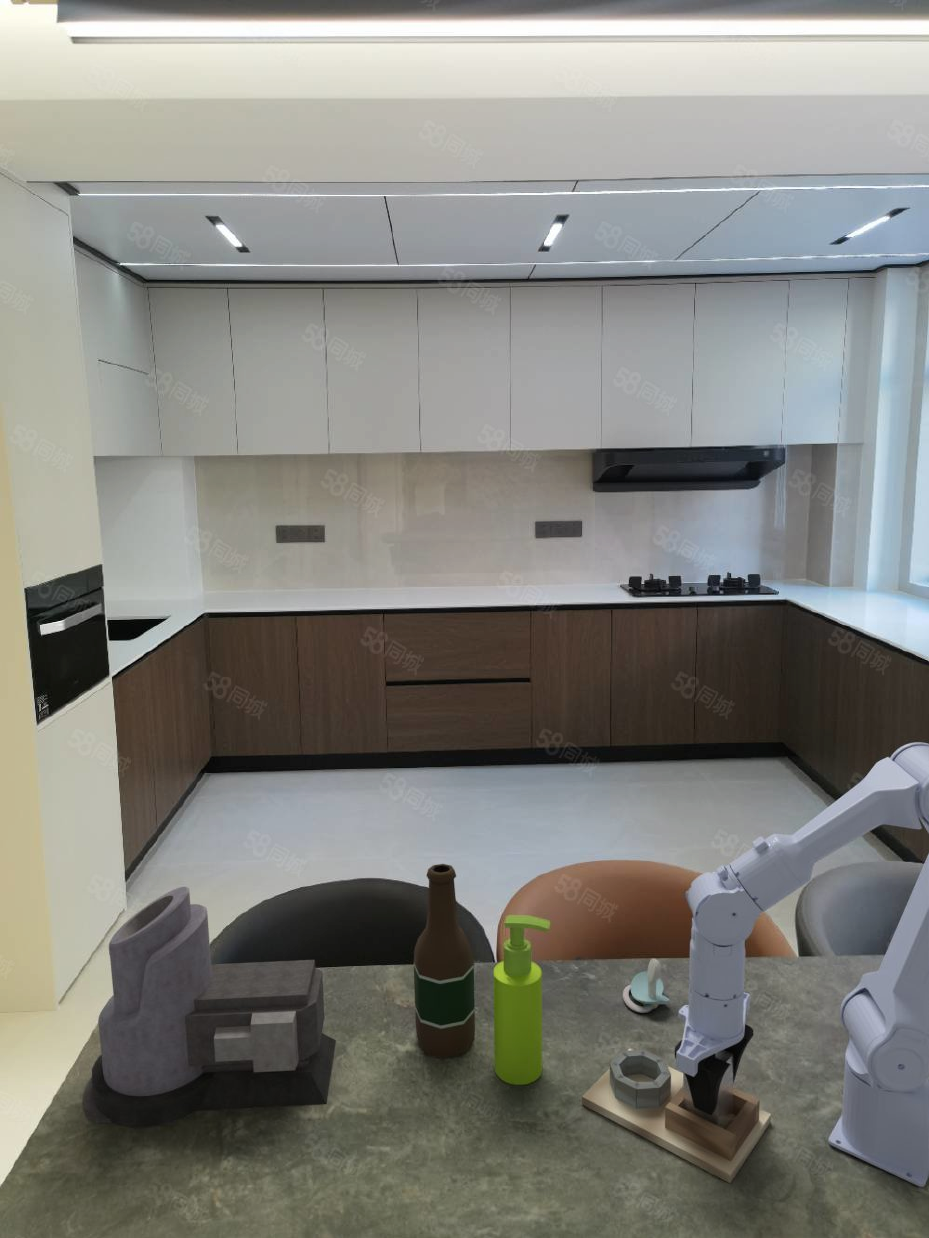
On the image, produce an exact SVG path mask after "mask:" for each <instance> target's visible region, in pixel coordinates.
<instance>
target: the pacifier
mask: <svg viewBox="0 0 929 1238" xmlns="http://www.w3.org/2000/svg"><path fill="white" fill-rule="evenodd" d="M661 974H662V966H661V963H660V961H659V960H657V959H656V958H650V961H649V963H648V966H647V970H644V971H640V972H639V973H637V974H635V976H634V977H633V978H632V979H631V983H630V984H629V985H627V986H625V988H624V989H623V991H622V999H623V1001H624V1003H625V1005H626V1006H627V1007H628V1008H629V1009H630V1010H632V1011H634V1012H637V1013H639V1014H640V1013H641V1014H645V1013H650V1012H651V1011H652V1010H653V1009H657V1008H658V1007H659V1005H665V1004H669V1003H670V998H669V997H667V996H665V995H663V992H664V983H663V981H662V979H661V978H660V977H661ZM630 993H631V995H632V997H633V999H634V1000H636V1002H640V1003H641V1004H642V1005H643V1006H641V1005H638V1004H636V1003H634V1001H632V999H631V998H630Z"/></svg>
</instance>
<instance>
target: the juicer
mask: <svg viewBox="0 0 929 1238" xmlns="http://www.w3.org/2000/svg"><path fill="white" fill-rule="evenodd" d="M190 895H191V893H190V888H189V887H187V886H180V887H176V888H174V889H172V890H170V891H168V892H166V893H165V894H163V895H161V896H159V897H158V898H156V899H155V900H153V901H151V902H150V903H149V904H147V905H146V906H144V907H143V908H142V909H140V910H138V911H137V913H135V914H134V915H133V916H131V917H130V918H129V919H128V920H127V921H125V923H123V924H122V925H121V927H119V929H118V930H117V931H116V932H115V933H114V934H113V936H112V937H111V939H110V940H109V943H108V952H109V959H110V960H109V962H110V970H111V981H112V983H111V984H112V992H113V994H112V996H111V997H110V998H109V999H108V1001H106V1003H105V1005H104V1006H103V1007H102V1009H101V1011H100V1013H99V1015H98V1019H97V1020H98V1021H97V1023H98V1031H99V1032H98V1034H99V1043H100V1044H99V1045H100V1055H98V1057H97V1058H96V1060H95V1061H94V1064H93V1066H92V1068H91V1077H90V1079H89V1080H88V1082H87V1083H86V1086H85V1088H84V1091H83V1094H82V1095H83V1096H82V1100H81V1101H82V1108H83V1111H84V1114H85V1116H86V1119H88V1120H89V1122H90V1123H91V1124H110V1123H111V1124H114V1125H117V1126H120V1127H125V1128H134V1129H137V1128H139V1129H141V1128H152V1127H158V1126H162V1125H166V1124H171V1123H174V1122H177V1121H179V1120H182V1119H184V1118H187V1117H188V1116H190V1115H194V1114H195V1113H196V1112H206V1111H207V1112H208V1111H210V1112H211V1111H223V1110H224V1111H225V1110H226V1111H227V1110H244V1109H261V1108H282V1107H298V1106H300V1107H301V1106H318V1105H319V1106H320V1105H327V1102H328V1097H329V1092H330V1091H329V1090H330V1089H329V1088H330V1085H331V1076H332V1071H333V1063H334V1058H335V1057H334V1056H335V1050H336V1043H337V1040H336V1038H333V1037H331V1036H329V1035H327V1034H325V1033H324V1032H323V1028H324V1022H325V1004H324V1003H325V1000H324V983H323V982H324V981H323V971H322V970H321V969H319V968H317V967H316V961H315V959H305V960H303V959H300V960H279V961H260V962H259V961H258V962H256V961H255V962H238V963H237V962H236V963H215V964H214V963H212V960H211V945H210V930H209V929H210V928H209V918H208V917H209V916H208V909H207V907H206V906H204V905H202V904H197V903H195V904H194V903H192V904H191V896H190Z"/></svg>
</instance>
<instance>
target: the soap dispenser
mask: <svg viewBox="0 0 929 1238" xmlns="http://www.w3.org/2000/svg"><path fill="white" fill-rule="evenodd" d="M550 927H551V921H550V920H548V919H545V918H542V917H538V916H532V915H525V914H524V915H523V914H520V915H519V914H518V915H517V914H511V915H509V914H508V915H507V914H506V918H505V921H504V928H509V938H508V939H506V940H505V941H504V943H503V945H502V947H503V948H502V949H503V950H502V951H503V956H502V957H503V959H502V961H500V962H499V963H497V964H496V965H495V966H494V969H493V973H492V974H493V976H492V977H493V1030H494V1032H493V1033H494V1034H493V1035H494V1037H493V1041H494V1042H493V1043H494V1045H493V1046H494V1048H493V1049H494V1072H495V1073H496V1076H497V1077H498V1078H499V1079H500V1080H502V1082H505V1083H507V1084H510V1085H515V1086H522V1085H523V1086H524V1085H528V1084H531V1083H533V1082H535V1081H537V1080H538V1079H539V1078H540V1077H541V1075H542V1072H543V1004H542V1003H543V992H542V991H543V986H542V984H543V979H542V978H543V975H542V974H543V973H542V969H541V967H540V966H539V965H538V964H537V963H536V962H534V961H532V945H531V944H532V943H531V942H530V941H529V940H528V939H526V938H525V929H532V930H537V931H542V932H544V933H547V932H548V931H549V930H550Z"/></svg>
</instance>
